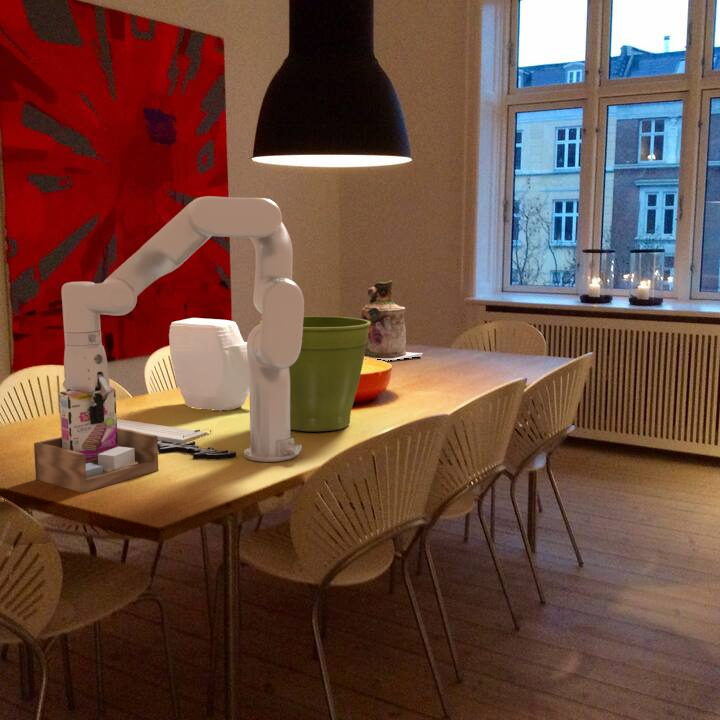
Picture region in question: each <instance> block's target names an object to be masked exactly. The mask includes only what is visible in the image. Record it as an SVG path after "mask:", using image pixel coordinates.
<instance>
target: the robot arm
mask: <svg viewBox="0 0 720 720" xmlns="http://www.w3.org/2000/svg"><path fill="white" fill-rule="evenodd" d="M212 237H225V238H226V237H227V238H249V239H250V240H251V242H252V244H253V246H254V252H255V271H254V273H255V274H254V286H253V296H252V297H253V298H252V299H253V305H254V307H255V309H256V310H257V311H258V312H259V313H260V314H261V320H262V323H261V324H260V323H259V324H258V325H256V326H254V327H253V328H252V329H251V331H250V332H249V334H248V335H247V336H248V337H247V340H246V342H247V357H248V365H249V381H250V391H249V431H250V432H249V435H250V436H249V439H250V441H249V442H250V446H249V447H247V448H246V449H244V451H243V456H244V458H245V459H247V460H250V461H254V462H262V463H263V462H265V463H270V462H271V463H274V462H282V461H288V460H292V459H294V458H295V457H297V456H298V455H299V454H300V452H301V451H302V449H303V446H302V444H298V443H295V437H294V436H292V435H291V433H292V431H291V430H292V429H291V427H290V371H289V367H290V366H292V365H293V364H294V363H295V362H296V360H297V359H298V357H299V354H300V351H301V345H302V333H303V318H304V316H305V299H304V295H303V291H302V290H301V287H299V285H298V284H297V283H296V282H295V281H293V266H294V265H293V261H294V260H293V258H294V256H293V254H294V253H293V252H294V251H293V244H292V240H291V236H290V234H289V231H288V230H287V227H286V226H285V224H284V223H283V215H282V210H281V209H280V207H279V206H278V204H277V203H276V202H274V201H273V200H271V199H269V198H266V197H230V196H228V197H227V196H213V195H212V196H210V195H208V196H200V197H197V198H194V199H193V200H192V201H191V202H190V203H188V204H187V205H185V207H184V208H183V209H181V211H180V212H178V213H177V214H176V215H175V216H174V217H173V218H172V219H171V220H169V221H168V222H167V223H166V224H165V225H164V226H163V227H162V228H161V229H159V231H157V232H156V233H155V234H153V236H152V237H151V238H150V239H148V240H147V241H146V242H145V243H144V244H143V245H142V246H141V247H140V248H139V249H138V250H137V251H136V252H135V253H133V254H132V255H131V256H130V257H129V258H128V259H126V261H124V262H123V263H122V264H121V265H120V266H119V267H117V268H116V269H115V270H114V271H113V272H112V273H111V274H109V276H108V277H107V278H106V279H105V280H104V281H103V282H99V283H95V282H93V281H70V282H65V283H64V284H63V285H62V287H61V301H62V302H61V303H62V304H61V305H62V318H63V332H64V333H63V335H64V354H63V355H64V356H63V372H64V373H63V375H64V380H63V382H62V387H63V388H64V391H70V390H75V391H81V392H86V393H88V394H89V397H90V401H91V405H92V406H90V421H91V424H93V425H94V424H98V423H102V422H104V406H103V405H104V404H105V400H106V399H107V396H108V395H109V394H110V393H111V390H110V388H109V387H111V385H110V374H109V373H110V372H109V366H108V359H107V355H106V350H105V347H104V345H102V344H103V343H102V331H101V317H100V316H101V315H106V316H108V315H109V316H125V315H127V314H129V313H130V312H132V311H133V310H134V309H135V307H136V304H137V301H138V296H139V295H140V294H141V293H143V291H144V290H145V289H147V288H148V287H149V286H150V285H152V284H153V283H154V282H155V281H157V280H158V279H159V278H161V277H163V276H165V275H168V274H169V273H172V272H173V271H175V270H176V269H178V268H180V267H181V266H182V265H183V264H184V262H186V261H187V260H188V259H189V258H190V257H191V256H192V255H193V254H194V253H195V252H196V251H197V250H199V249H200V248H201V246H203V245H204V244H205V243H206V242H207V241H208V240H210V238H212ZM95 389H97V391H95ZM94 394H98V396H97V397H96V399H95V395H94Z"/></svg>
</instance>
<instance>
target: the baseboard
mask: <svg viewBox="0 0 720 720" xmlns="http://www.w3.org/2000/svg"><path fill="white" fill-rule="evenodd" d="M116 420H117V427H119V428H123V429H128V430H133V431H137V432H142V433H147V434H151V435H156V436H157V439H161V440H169V441H176V442H183V443H189V442H192V441H195V440H198V439H201V438H204V437H207V436H210V435H209V434H211V435H212V430H209V432H210V433H209V432H206V430H207V429H203V430H201V429H196V430H194V429H187V428H180V427H173V426H167V425H160V424H154V423H146V422H140V421H134V420H126V419H120V418H117V419H116ZM206 435H207V436H206ZM203 436H204V437H203ZM200 437H201V438H200Z"/></svg>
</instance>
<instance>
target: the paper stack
mask: <svg viewBox="0 0 720 720" xmlns="http://www.w3.org/2000/svg"><path fill="white" fill-rule="evenodd" d="M168 339H169V341H168V342H169V354H170V360H171V365H172V368H173V371H174V372H173V373H174V379H175V385H176V387H177V388H179V390H180V394H181V396H182V398H183V399H184V403H185V406H189V407H194V408H201V409H214V410H227V411H232V410H235V409H238V408H241V407H242V406H244V405H245V403H246V402H247V398H248V396H249V395H250V381H249V365H248V357H247V341H244V338H243V337H242V334H241V333H240V328H239V326H238V325H237V323H236V322H235V321H232V320H229V319H228V320H227V319H215V318H200V317H191V318H190V317H189V318H185V319H181V320H176V321H172V322H171V324H170V325H169V333H168ZM189 407H188V408H189ZM194 408H193V409H194Z"/></svg>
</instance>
